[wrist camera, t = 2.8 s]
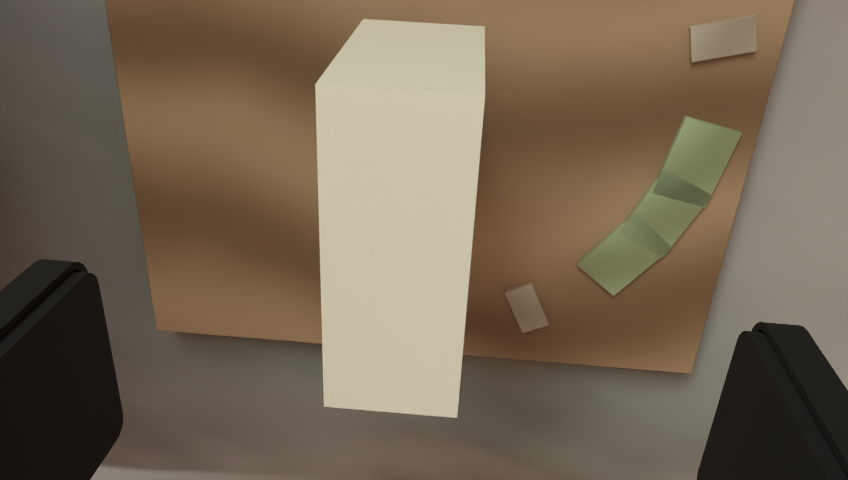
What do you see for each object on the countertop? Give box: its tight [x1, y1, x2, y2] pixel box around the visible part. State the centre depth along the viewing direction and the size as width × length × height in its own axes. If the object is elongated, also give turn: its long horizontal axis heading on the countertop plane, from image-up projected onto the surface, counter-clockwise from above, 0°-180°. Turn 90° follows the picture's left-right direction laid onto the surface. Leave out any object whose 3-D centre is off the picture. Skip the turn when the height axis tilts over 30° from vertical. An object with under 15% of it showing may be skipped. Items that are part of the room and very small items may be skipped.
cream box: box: [315, 19, 485, 418], centre depth 19 cm, size 13×3×11 cm, turn 177°
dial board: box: [105, 0, 795, 373], centre depth 23 cm, size 20×20×1 cm
